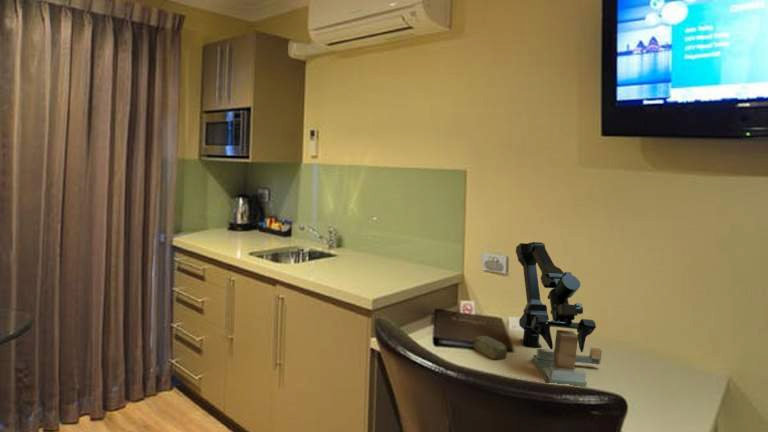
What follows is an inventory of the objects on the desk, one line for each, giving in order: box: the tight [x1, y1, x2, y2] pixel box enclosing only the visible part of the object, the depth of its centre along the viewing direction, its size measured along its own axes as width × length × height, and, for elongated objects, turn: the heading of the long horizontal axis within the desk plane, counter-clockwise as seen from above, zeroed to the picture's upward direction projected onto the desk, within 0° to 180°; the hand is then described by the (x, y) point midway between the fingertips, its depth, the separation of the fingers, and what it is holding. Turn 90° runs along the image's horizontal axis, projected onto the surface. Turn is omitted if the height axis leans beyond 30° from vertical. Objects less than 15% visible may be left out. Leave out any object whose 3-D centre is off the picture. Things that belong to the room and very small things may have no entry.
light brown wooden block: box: [535, 347, 603, 365], centre depth 164 cm, size 2×20×5 cm, turn 88°
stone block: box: [473, 335, 508, 361], centre depth 170 cm, size 6×12×5 cm, turn 30°
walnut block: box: [552, 329, 578, 369], centre depth 153 cm, size 5×5×13 cm
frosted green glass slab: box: [532, 354, 587, 387], centre depth 158 cm, size 20×11×4 cm, turn 178°
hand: (566, 350), depth 152 cm, fingers open, 9 cm apart
